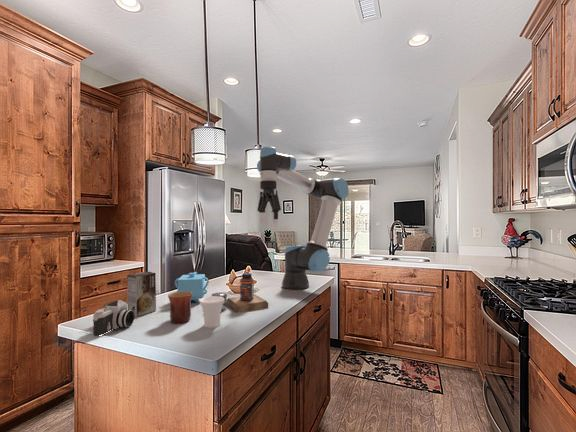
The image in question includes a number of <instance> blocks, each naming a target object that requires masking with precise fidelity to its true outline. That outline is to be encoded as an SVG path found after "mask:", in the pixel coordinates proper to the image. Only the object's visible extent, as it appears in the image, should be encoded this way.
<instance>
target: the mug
mask: <svg viewBox="0 0 576 432" xmlns="http://www.w3.org/2000/svg"><path fill="white" fill-rule="evenodd" d="M192 294H193V293H192V292H187V291H181V292H177V291H175V292H171V293H169V294H168V296H167V297H168V300H169V303H170V304H169V306H170V307H169V317H170V318H169V319H170V322H171V323H172V324H178V325H180V324H185V323H188V322H189V321H190V320H191V315H192V313H191V311H192V310H191V308H192V306H191V301H192V300H191V298H192Z"/></svg>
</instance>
